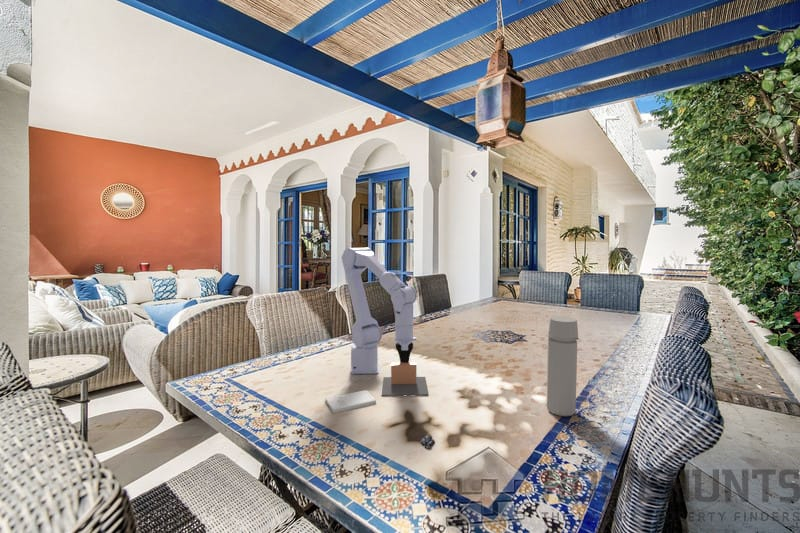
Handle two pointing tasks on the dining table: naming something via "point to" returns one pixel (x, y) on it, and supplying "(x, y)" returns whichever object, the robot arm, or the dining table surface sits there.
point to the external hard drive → (350, 401)
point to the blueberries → (427, 442)
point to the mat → (404, 388)
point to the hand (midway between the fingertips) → (404, 365)
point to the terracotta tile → (403, 373)
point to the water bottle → (562, 366)
